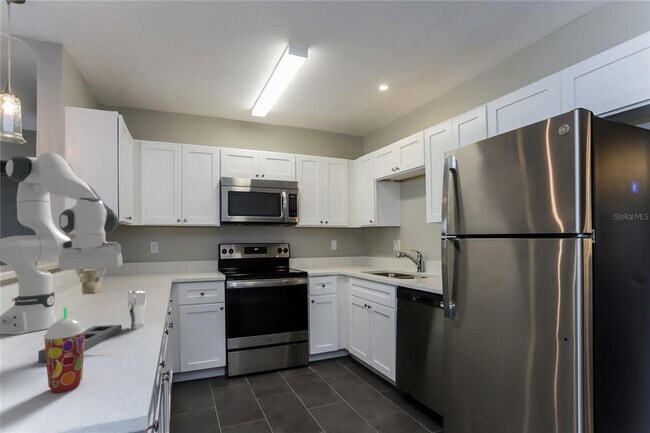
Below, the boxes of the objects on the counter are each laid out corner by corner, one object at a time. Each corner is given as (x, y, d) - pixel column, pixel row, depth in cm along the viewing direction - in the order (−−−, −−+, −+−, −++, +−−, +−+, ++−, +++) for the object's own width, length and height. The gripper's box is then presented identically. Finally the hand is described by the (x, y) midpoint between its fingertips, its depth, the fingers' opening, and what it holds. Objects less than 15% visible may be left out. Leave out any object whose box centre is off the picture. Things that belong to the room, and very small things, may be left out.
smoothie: (59, 381, 90) (59, 304, 90) (93, 379, 90) (92, 303, 91) (35, 397, 81) (35, 312, 82) (72, 394, 82) (71, 310, 83)
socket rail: (72, 361, 104) (72, 348, 104) (38, 362, 104) (38, 350, 104) (121, 333, 131) (121, 323, 131) (94, 335, 131) (94, 325, 131)
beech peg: (82, 294, 119) (81, 271, 119) (89, 292, 123) (89, 270, 123) (94, 294, 119) (93, 270, 120) (101, 292, 123) (100, 269, 124)
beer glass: (138, 332, 132) (137, 293, 133) (122, 331, 134) (122, 293, 134) (150, 327, 139) (150, 290, 140) (135, 326, 141) (135, 290, 141)
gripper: (125, 241, 126) (126, 278, 125) (67, 243, 124) (68, 281, 124) (116, 241, 119) (116, 281, 119) (55, 244, 118) (55, 284, 118)
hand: (91, 281), depth 121 cm, fingers closed on beech peg, 4 cm apart
